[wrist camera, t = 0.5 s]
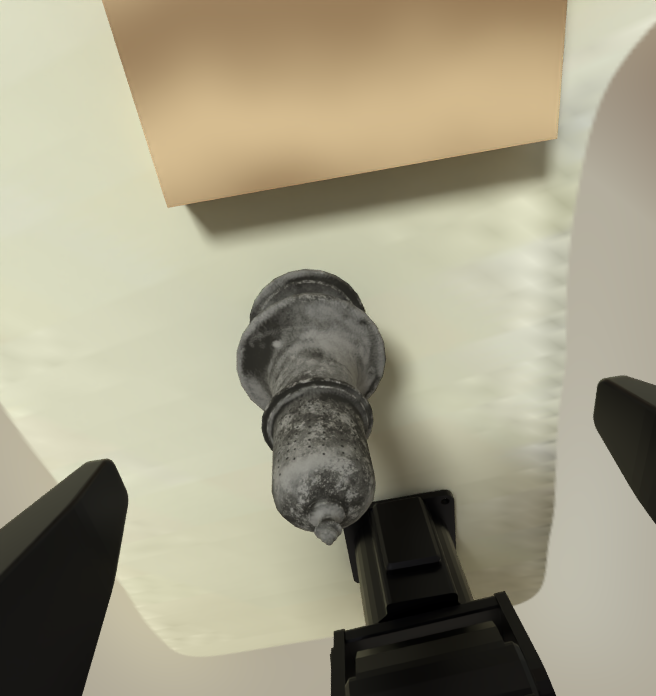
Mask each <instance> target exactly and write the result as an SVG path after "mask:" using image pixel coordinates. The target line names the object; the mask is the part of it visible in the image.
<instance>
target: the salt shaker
mask: <svg viewBox="0 0 656 696" xmlns="http://www.w3.org/2000/svg"><path fill="white" fill-rule="evenodd" d="M385 361H386V356H385V348H384V342H383V339H382V337H381V335H380V333H379V330H378V328H377V326H376V325H375V323H374V322H373V321H372V320H371V319H370V318H369V317H368V315H367V314H366V313H365V312H364V307H363V305H362V303H361V301H360V299H359V296H358V294H357V293H356V292H355V291H354V290H353V289H352V287H351V286H350V285H349V284H348V283H347V282H345V281H343V280H342V279H340V278H339V277H337V276H336V275H333V274H330V273H327V272H324V271H321V270H308V269H303V270H298V271H293V272H288V273H286V274H284V275H282V276H280V277H277V278H275V279H274V280H273V281H271V282H270V283H269V284H268V285H267V286H265V287H264V288H263V289H262V291H261V292H260V294H259V295H258V296H257V298H256V299H255V301H254V304H253V307H252V310H251V313H250V324H249V325H248V327H247V328H246V330H245V331H244V333H243V334H242V337H241V340H240V343H239V346H238V349H237V372H238V376H239V379H240V382H241V385H242V387H243V388H244V390H245V391H246V393H247V394H248V396H249V397H250V399H251V400H252V401H253V402H254V403H256V404H257V405H258V406H259V407H260V408H261V409H262V410H264V413H263V416H262V432H263V436H264V439H265V441H266V443H267V444H268V446H269V447H270V449H271V450H272V451H273V466H272V495H273V498H274V502H275V505H276V508H277V510H278V511H279V512H280V514H281V515H282V516H283V517H284V518H285V519H286V520H287V521H289V522H290V523H291V524H293V525H294V526H295V527H298V528H300V529H303V530H305V531H311V532H314V534H315V535H316V536H317V538H319V539H321V540H322V542H325V543H326V544H327V545H331V544H333V542H334V541H335V540H336V539H337V537H338V536H339V535H340V534H341V532H342V528H345V527H348V526H349V525H351V524H353V523H354V522H356V521H357V520H358V519H359V518H360V517H361V516H362V515H363V514H364V513H365V512H366V511H367V509H368V508H369V506H370V504H371V503H372V501H373V498H374V493H375V483H376V482H375V476H374V471H373V466H372V462H371V457H370V453H369V449H368V444H367V439H368V437H369V435H370V433H371V430H372V425H373V415H372V409H371V406H370V404H369V402H368V400H367V399H368V398H369V397H370V396H371V395H372V394H373V393H374V392H375V390H376V388H377V386H378V384H379V382H380V380H381V378H382V376H383V372H384V366H385Z"/></svg>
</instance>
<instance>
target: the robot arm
mask: <svg viewBox="0 0 656 696" xmlns="http://www.w3.org/2000/svg"><path fill="white" fill-rule="evenodd" d="M593 418H594V424H595V427H596V429H597V431H598V433H599V434H600V436H601V438H602V439H603V441H604V443H605V445H606V446H607V448H608V450H609V451H610V453H611V455H612V457H613V458H614V460H615V462H616V463H617V465H618V467H619V469H620V470H621V472H622V474H623V475H624V477H625V479H626V481H627V482H628V484H629V486H630V487H631V489H632V490H633V492H634V494H635V495H636V497H637V498H638V500H639V502H640V503H641V504H642V506H643V507H644V509H645V510H646V511H647V513H648V514H649V516H650V517H651V518H652V520H653V521H654V522H655V524H656V385H653V384H650V383H647V382H644V381H640V380H638V379H634V378H631V377H628V376H615V377H609V378H604V379H602V380H600V382H599V383H598V386H597V392H596V399H595V406H594V414H593ZM444 498H446V499H444ZM127 508H128V494H127V490H126V488H125V486H124V484H123V481H122V479H121V477H120V475H119V473H118V470H117V468H116V466H115V464H114V463H113V461H112V460H110V459H101V460H95V461H89V462H86V463H85V464H83V465H82V466H81V467H79V468H78V469H77V470H76V471H74V472H73V473H72V474H70V475H69V476H68V477H67V478H65V479H64V480H63V481H61V482H60V483H59V484H58V485H56V486H55V487H54V488H52V489H51V490H50V491H49V492H47V493H46V494H45V495H43V496H42V497H41V498H40V499H38V500H37V501H36V502H34V503H33V504H32V505H31V506H29V507H28V508H27V509H25V510H24V511H23V512H22V513H20V514H19V515H18V516H17V517H15V518H14V519H13V520H11V521H10V522H9V523H7V524H6V525H5V526H4V527H2V528H1V529H0V696H82V694H83V690H84V687H85V683H86V680H87V676H88V673H89V669H90V666H91V662H92V659H93V656H94V652H95V649H96V645H97V642H98V638H99V635H100V631H101V628H102V624H103V621H104V617H105V614H106V610H107V607H108V603H109V600H110V596H111V593H112V589H113V585H114V581H115V576H116V571H117V566H118V560H119V554H120V548H121V542H122V537H123V531H124V525H125V519H126V514H127ZM343 529H344V534H345V539H346V544H347V549H348V554H349V559H350V563H351V568H352V573H353V578H354V581H355V582H357V583H360V590H361V596H362V603H363V610H364V617H365V623H366V626H363V627H359V628H354V629H350V630H346V631H345V629H341V630H337V631H334V648H331V654H330V660H331V696H556V694H555V692H554V689H553V687H552V684H551V682H550V679H549V677H548V675H547V672H546V670H545V668H544V666H543V664H542V662H541V660H540V658H539V656H538V654H537V652H536V650H535V648H534V646H533V644H532V642H531V641H530V638H529V637H528V635H527V633H526V631H525V629H524V627H523V625H522V623H521V621H520V619H519V618H518V616H517V614H516V612H515V610H514V608H513V606H512V604H511V602H510V600H509V598H508V596H507V595H506V593H505V591H503V592H499V593H495V594H494V596H491V597H487V598H482V599H478V600H474V599H473V596H472V594H471V591H470V588H469V585H468V583H467V580H466V577H465V574H464V572H463V569H462V566H461V563H460V561H459V558H458V555H457V552H456V541H455V514H454V498H453V496H452V493H451V492H450V491H448V490H440V491H434V492H428V493H423V494H417V495H411V496H405V497H400V498H394V499H388V500H382V501H376V502H372V503H371V504H370V506H369V508H368V509H367V511H366V512H365V513H364V514H363V515H362V516H361V517H360V518H359V519H358V520H357V521H356V522H354V523H353V524H351V525H349V526H348V527H345V528H343Z"/></svg>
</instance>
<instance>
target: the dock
mask: <svg viewBox="0 0 656 696" xmlns="http://www.w3.org/2000/svg"><path fill="white" fill-rule="evenodd" d="M102 2H103V5H104V8H105V11H106V14H107V18H108V21H109V24H110V27H111V30H112V33H113V37H114V40H115V43H116V46H117V49H118V52H119V56H120V59H121V62H122V65H123V68H124V71H125V74H126V78H127V81H128V84H129V87H130V90H131V93H132V97H133V100H134V103H135V106H136V109H137V112H138V116H139V119H140V122H141V125H142V128H143V131H144V135H145V138H146V141H147V144H148V147H149V150H150V154H151V157H152V160H153V163H154V166H155V169H156V172H157V176H158V179H159V182H160V185H161V188H162V191H163V195H164V198H165V201H166V204H167V207H168V208H169V207H174V206H180V205H186V204H191V203H197V202H202V201H208V200H214V199H219V198H225V197H231V196H236V195H242V194H247V193H253V192H259V191H264V190H270V189H276V188H281V187H287V186H293V185H298V184H304V183H309V182H315V181H321V180H326V179H332V178H338V177H343V176H349V175H354V174H360V173H366V172H371V171H377V170H383V169H388V168H394V167H399V166H405V165H411V164H416V163H422V162H428V161H433V160H439V159H444V158H450V157H456V156H461V155H467V154H473V153H478V152H484V151H490V150H495V149H501V148H506V147H512V146H518V145H523V144H529V143H535V142H540V141H546V140H551V139H557V133H558V119H559V106H560V92H561V78H562V65H563V51H564V38H565V24H566V10H567V0H102Z"/></svg>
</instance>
